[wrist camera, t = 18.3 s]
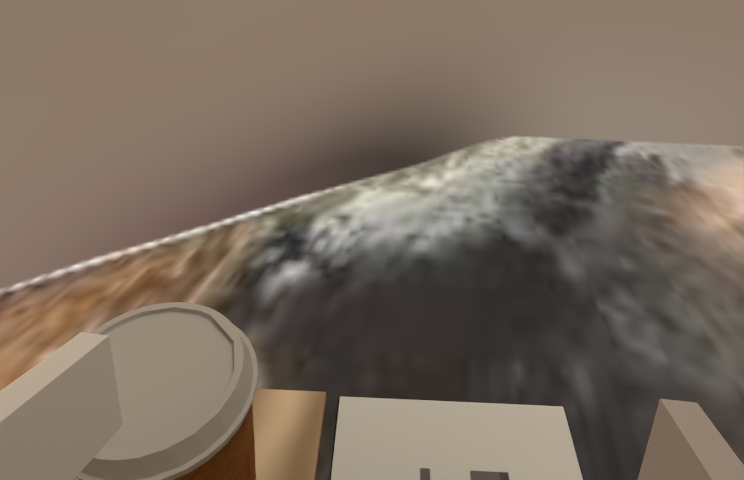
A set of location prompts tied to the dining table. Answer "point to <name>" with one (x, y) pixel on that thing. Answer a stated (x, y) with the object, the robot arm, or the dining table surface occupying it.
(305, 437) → the oak coaster
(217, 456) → the disposable coffee cup
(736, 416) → the dining table surface
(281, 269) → the dining table surface
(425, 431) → the mat
